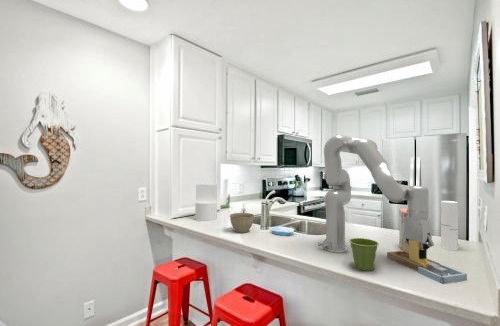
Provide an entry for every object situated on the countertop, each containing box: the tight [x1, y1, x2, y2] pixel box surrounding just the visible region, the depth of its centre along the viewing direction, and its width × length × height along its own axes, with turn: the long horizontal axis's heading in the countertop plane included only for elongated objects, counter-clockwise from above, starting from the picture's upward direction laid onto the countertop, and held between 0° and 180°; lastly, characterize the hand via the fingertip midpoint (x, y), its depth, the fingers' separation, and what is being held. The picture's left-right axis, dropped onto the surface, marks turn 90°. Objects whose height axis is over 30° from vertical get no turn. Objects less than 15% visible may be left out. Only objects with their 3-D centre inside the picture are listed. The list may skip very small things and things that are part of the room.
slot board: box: [386, 250, 440, 273], centre depth 112 cm, size 11×16×4 cm, turn 15°
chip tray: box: [417, 263, 468, 285], centre depth 99 cm, size 12×10×3 cm
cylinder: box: [194, 183, 218, 222], centre depth 206 cm, size 17×17×28 cm
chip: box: [434, 266, 449, 276], centre depth 99 cm, size 3×3×3 cm
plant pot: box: [348, 237, 380, 272], centre depth 109 cm, size 12×12×11 cm
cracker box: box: [398, 207, 409, 251], centre depth 132 cm, size 14×6×21 cm, turn 154°
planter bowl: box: [229, 212, 255, 234], centre depth 168 cm, size 16×16×11 cm
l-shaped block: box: [409, 239, 431, 269], centre depth 107 cm, size 5×7×11 cm
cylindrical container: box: [440, 200, 459, 252], centre depth 135 cm, size 7×7×25 cm
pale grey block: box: [426, 263, 440, 273], centre depth 102 cm, size 3×3×3 cm
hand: (417, 256), depth 109 cm, fingers closed on l-shaped block, 4 cm apart
